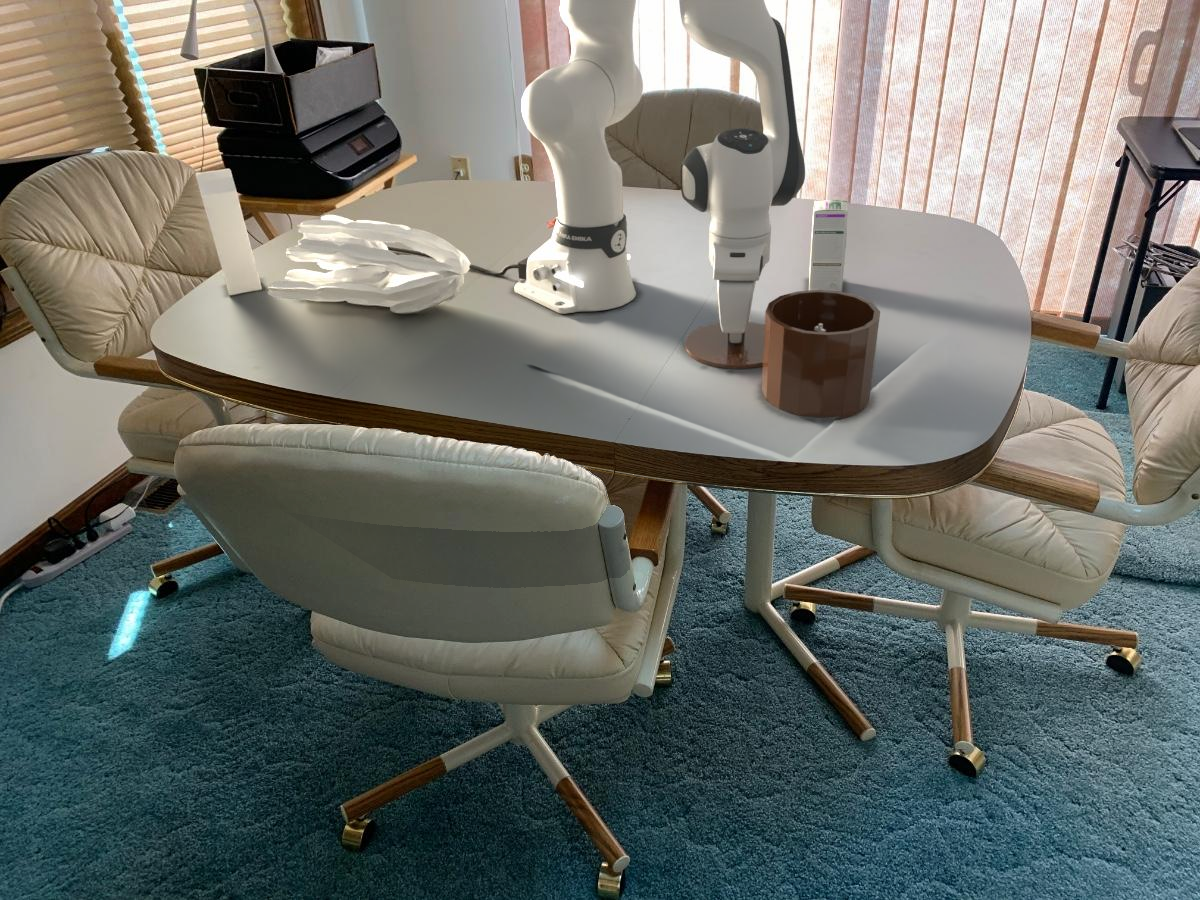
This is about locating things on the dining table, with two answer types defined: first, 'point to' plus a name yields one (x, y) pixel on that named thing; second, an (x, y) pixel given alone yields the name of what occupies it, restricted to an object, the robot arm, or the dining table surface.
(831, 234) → the syrup box
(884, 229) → the dining table surface
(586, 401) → the dining table surface
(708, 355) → the lid
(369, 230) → the white jagged lobed bundle
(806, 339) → the crock
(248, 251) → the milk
